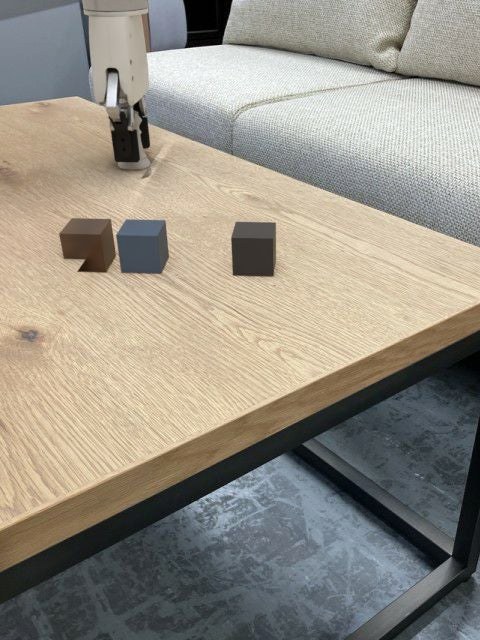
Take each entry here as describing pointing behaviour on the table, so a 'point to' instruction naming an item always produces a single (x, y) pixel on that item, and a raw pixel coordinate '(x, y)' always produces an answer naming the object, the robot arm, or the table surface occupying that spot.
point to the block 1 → (89, 243)
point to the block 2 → (143, 246)
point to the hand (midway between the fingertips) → (133, 153)
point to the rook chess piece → (143, 160)
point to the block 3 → (254, 248)
